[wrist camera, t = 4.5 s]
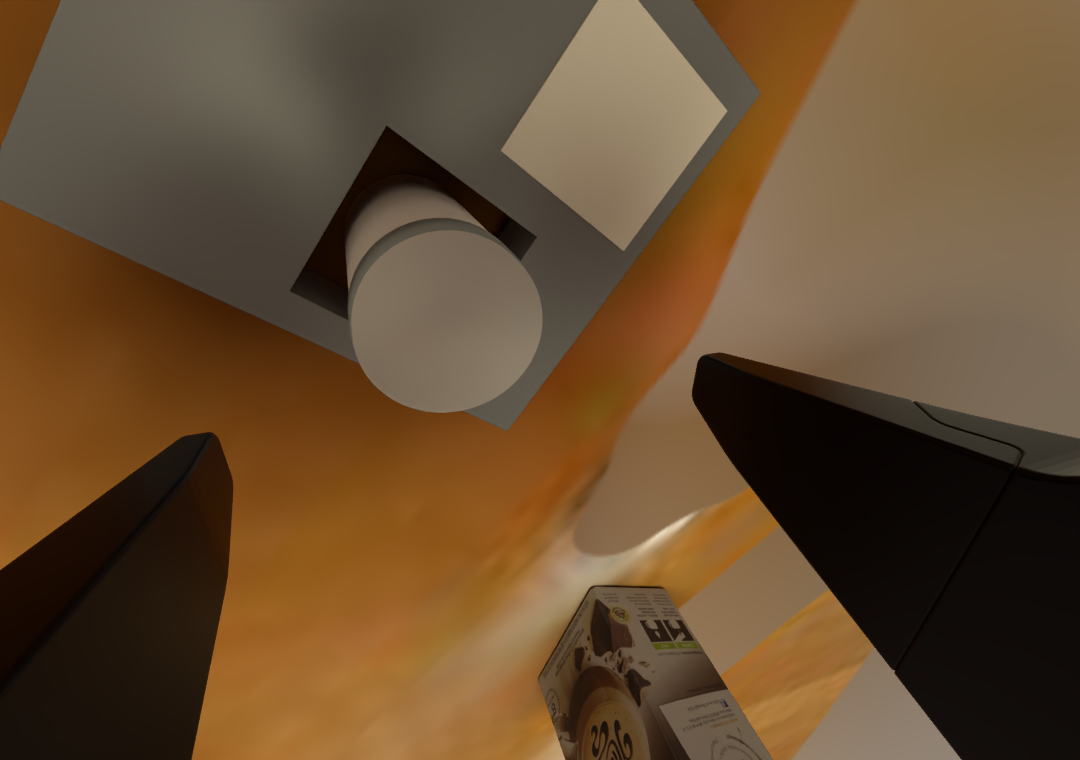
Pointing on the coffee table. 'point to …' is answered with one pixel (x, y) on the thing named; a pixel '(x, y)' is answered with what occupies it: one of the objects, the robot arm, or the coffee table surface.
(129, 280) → the coffee table surface
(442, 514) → the coffee table surface
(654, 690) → the coffee box
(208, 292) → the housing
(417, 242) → the cylinder
